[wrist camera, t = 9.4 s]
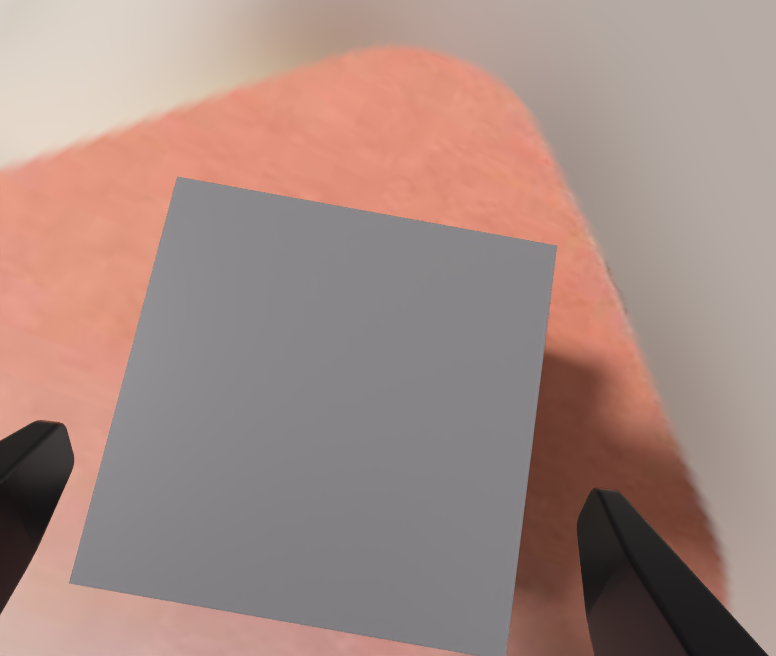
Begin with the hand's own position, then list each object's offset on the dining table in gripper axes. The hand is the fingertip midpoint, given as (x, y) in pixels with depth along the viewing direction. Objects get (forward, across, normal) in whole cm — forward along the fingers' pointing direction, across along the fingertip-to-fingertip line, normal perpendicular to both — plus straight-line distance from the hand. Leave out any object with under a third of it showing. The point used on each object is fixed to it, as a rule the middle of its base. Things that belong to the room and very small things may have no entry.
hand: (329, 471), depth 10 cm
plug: (+7, 0, +5) cm, 9 cm away
